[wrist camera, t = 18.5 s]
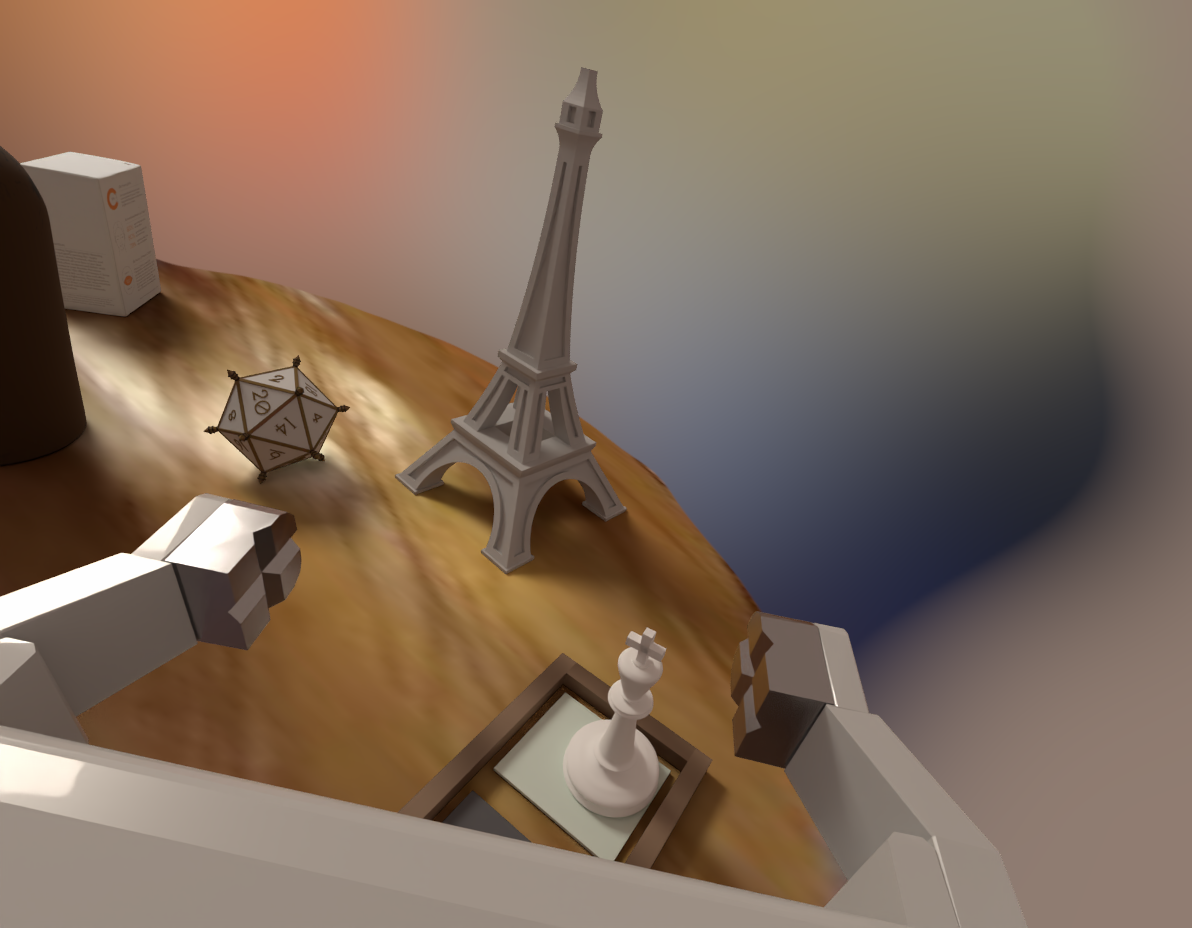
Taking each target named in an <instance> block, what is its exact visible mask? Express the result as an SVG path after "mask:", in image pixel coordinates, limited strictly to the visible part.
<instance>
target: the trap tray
mask: <svg viewBox="0 0 1192 928" xmlns="http://www.w3.org/2000/svg"><path fill="white" fill-rule="evenodd" d="M563 684H564V685H565V686H566V687H568V688H569V689H570V690H572V691H573V692H574V693H576V694H577V695H578V696H580V697H581V698H582V699H584V700H585V701H587V702H588V703H589V704H591V705H592V706H593V707H595V708H596V709H597V710H599V711H600V712H601V713H603V714H604V715H605V716H607V717H608V718H610V719H611V720H612V718H613V715H614V713H615V712H614V711H613V709H612V708H611V706H610V704H609V702H608V692H609V690H610V688H611V687H610V686H608V685H607V684H606V683H604V682H603V681H601V680H600V679H599V678H597V677H596V676H594V675H593V674H592V673H590V672H589V671H587V670H586V669H585V668H583V667H582V666H580V665H579V664H578V663H576V662H575V661H573V660H572V659H571V658H569V657H568V656H566V655H565V654H564V653H562V654H561V655H560V656H559V657H558V658H557V659H556V660H555V661H554V662H553V663H552V664H551V665H550V666H549V667H548V668H547V669H546V670H545V671H544V672H543V673H542V674H540V675H539V676H538V677H537V678H536V679H535V680H534V681H533V682H532V683H531V684H530V685H529V686H528V687H527V688H526V689H525V690H524V691H523V692H522V693H521V694H520V695H519V696H518V697H517V698H516V699H515V700H514V701H513V702H512V703H510V704H509V705H508V706H507V707H506V708H505V709H504V710H503V711H502V712H501V713H500V714H499V715H498V716H497V717H496V718H495V719H494V720H493V721H492V722H491V723H490V724H489V725H488V726H487V727H486V728H485V729H484V730H483V731H482V732H480V733H479V734H478V735H477V736H476V737H475V738H474V739H473V740H472V741H471V742H470V743H469V744H468V745H467V746H466V747H465V748H464V749H463V750H462V751H461V752H460V753H459V754H458V755H457V756H456V757H455V758H454V759H453V760H452V761H450V762H449V763H448V764H447V765H446V766H445V767H444V768H443V769H442V770H441V771H440V772H439V773H438V774H437V775H436V776H435V777H434V778H433V779H432V780H431V781H430V782H429V783H428V784H427V785H426V786H425V787H424V788H423V789H421V790H420V791H419V792H418V793H417V794H416V795H415V796H414V797H413V798H412V799H411V800H410V801H409V802H408V803H407V804H406V805H405V806H404V807H403V808H402V809H401V810H400V811H399V812H398V813H400V814H405V815H409V816H413V817H418V818H422V819H427V820H432V819H433V818H434V817H435V816H436V815H437V814H438V813H439V812H440V811H441V810H442V809H443V808H444V807H445V806H446V804H447V803H448V802H449V801H450V800H451V799H452V798H453V797H454V796H455V795H456V794H457V793H458V792H459V791H460V790H461V789H462V788H463V787H464V786H465V785H466V784H467V783H468V782H469V781H470V780H471V779H472V778H473V777H474V776H475V775H476V774H477V772H478V771H479V770H480V769H481V768H482V767H483V766H484V765H485V764H486V763H487V762H488V761H489V760H490V759H491V758H492V757H493V756H494V755H495V754H496V753H497V752H498V751H499V750H500V749H501V748H502V747H503V746H504V745H505V744H506V743H507V742H508V740H509V739H510V738H511V737H512V736H513V735H514V734H515V733H516V732H517V731H518V730H519V729H520V728H521V727H522V726H523V725H524V724H525V723H526V722H527V721H528V720H529V719H530V718H531V717H532V716H533V715H534V714H535V713H536V712H537V711H538V709H539V708H540V707H541V706H542V705H543V704H544V703H545V702H546V701H547V700H548V699H549V698H550V697H551V696H552V695H553V694H554V693H555V692H556V691H557V690H558V689H559V688H560V687H561V686H562V685H563ZM636 729H637V730H639V731H640V732H641V733H642V734H643V735H644V736H645V737H646V738H647V739H648V740H649V741H650V743H651V744H652V746H653V748H654V750H655V752H656V753H657V754H658V755H660V756H661V757H662V758H664V759H665V760H666V761H668V762H669V763H670V764H672V765H673V766H674V767H676V768H677V769H679V770H680V771H681V773H680V775H679V776H678V778H677V780H676V781H675V783H674V784H673V786H672V788H671V789H670V791H669V793H668V794H667V796H666V797H665V799H664V801H663V802H662V804H661V805H660V807H659V809H658V810H657V812H656V814H655V815H654V817H653V818H652V820H651V822H650V823H649V825H648V827H647V828H646V830H645V831H644V833H643V835H642V836H641V838H640V839H639V841H638V843H637V844H636V846H635V848H634V849H633V851H632V852H631V854H630V856H629V857H628V859H627V861H626V862H625V864H630V865H634V866H639V867H643V868H648V869H651V867H652V865H653V863H654V862H655V860H656V858H657V856H658V855H659V853H660V851H661V849H662V848H663V846H664V844H665V843H666V841H667V839H668V837H669V836H670V834H671V832H672V830H673V829H674V827H675V825H676V823H677V822H678V820H679V818H680V816H681V815H682V813H683V811H684V809H685V808H686V806H687V804H688V803H689V801H690V799H691V797H692V796H693V794H694V792H695V790H696V789H697V787H698V785H699V783H700V782H701V780H702V778H703V776H704V775H705V773H706V771H707V769H708V767H709V766H710V764H711V762H712V759H711V758H709V757H708V756H706V755H705V754H704V753H702V752H701V751H699V750H698V749H697V748H695V747H694V746H692V745H691V744H690V743H688V742H687V741H685V740H684V739H683V738H681V737H680V736H678V735H677V734H676V733H674V732H673V731H671V730H670V729H669V728H667V727H666V726H664V725H663V724H662V723H660V722H659V721H657V720H656V719H655V718H653V717H652V716H650V715H648V716H646V717H645V718H643V719H639V720H637V722H636Z"/></svg>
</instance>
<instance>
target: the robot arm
mask: <svg viewBox="0 0 1192 928" xmlns="http://www.w3.org/2000/svg"><path fill="white" fill-rule="evenodd" d="M296 530H297V527H296V522H295V518H294V515H292V514H290V513H288V512H285V511H281V510H277V509H272V508H268V507H264V506H260V505H256V504H251V503H247V502H243V501H239V500H235V499H233V500H232V499H228V498H224V497H220V496H216V495H211V494H207V493H205V494H202V495H199V496H196V497H195V498H194V499H193V500H191V501H190V502H189V503H188V504H187V505H186V506H185V507H184V508H182V509H181V510H180V511H179V512H178V513H177V514H176V515H175V516H173V517H172V518H171V519H170V520H169V521H168V522H167V523H166V524H164V525H163V526H162V527H161V528H160V529H159V530H158V531H157V532H155V533H154V534H153V535H152V536H151V537H150V538H149V539H148V540H146V541H145V542H144V543H143V544H142V545H141V546H140V547H139V548H137V549H136V550H135V551H134V552H133V553H132V554H126V553H120V554H117V555H114V556H111V557H109V558H106V559H103V560H100V561H98V562H95V563H92V564H89V565H87V566H84V567H81V568H78V569H75V570H73V571H70V572H67V573H64V574H62V575H59V576H56V577H53V578H51V579H48V580H45V581H42V582H40V583H37V584H34V585H31V586H29V587H26V588H23V589H20V590H18V591H15V592H12V593H9V594H7V595H4V596H1V597H0V928H1028V927H1027V924H1026V921H1025V919H1024V916H1023V913H1022V911H1021V908H1020V905H1019V903H1018V900H1017V898H1016V895H1015V892H1014V889H1013V887H1012V884H1011V882H1010V879H1009V876H1008V874H1007V871H1006V868H1005V866H1004V863H1003V860H1002V858H1001V855H1000V853H999V851H998V850H997V849H996V848H995V847H994V846H993V845H992V843H991V842H990V841H989V840H988V839H987V838H986V837H985V835H984V834H983V833H982V832H981V831H980V830H979V829H978V828H977V827H976V825H975V824H974V823H973V822H972V821H971V820H970V818H968V816H967V815H966V814H965V813H964V812H963V811H962V809H961V808H960V807H959V806H958V805H957V804H956V803H955V802H954V800H953V799H952V798H951V797H950V796H949V795H948V794H947V793H946V791H945V790H944V789H943V788H942V787H941V786H940V785H939V784H938V782H937V781H936V780H935V779H934V778H933V777H932V776H931V774H930V773H929V772H928V771H927V770H926V769H925V768H924V766H923V765H922V764H921V763H920V762H919V761H918V760H917V759H916V758H915V756H914V755H913V754H912V753H911V752H910V751H909V749H907V747H906V746H905V745H904V744H903V743H902V742H901V740H900V739H899V738H898V737H897V736H896V735H895V734H894V733H893V731H892V730H891V729H890V728H889V727H888V726H887V725H886V724H885V722H884V721H883V720H882V719H881V718H880V717H879V716H878V715H875V714H870V713H869V710H868V706H867V703H866V699H865V695H864V692H863V688H862V684H861V680H860V677H859V673H858V669H857V666H856V662H855V658H854V655H853V651H852V647H851V643H850V640H849V636H848V634H847V632H846V631H845V630H844V629H841V628H836V627H831V626H826V625H821V624H817V623H814V624H813V623H811V622H807V621H802V620H796V619H792V618H786V617H782V616H777V615H771V614H766V613H762V612H757V611H756V612H755V613H754V614H753V615H752V617H751V619H750V621H749V623H748V625H747V629H748V639H746V640H744V641H742V642H740V643H739V645H738V648H737V650H736V653H735V655H734V660H733V664H732V669H731V683H730V684H731V697H732V698H733V700H734V701H735V703H736V704H737V705H738V709H737V711H736V713H735V715H734V717H733V719H732V723H733V738H734V754H735V756H736V757H740V758H744V759H748V760H753V761H757V762H761V763H765V764H769V765H773V766H777V767H781V768H785V770H784V772H785V773H786V775H787V777H788V778H789V780H790V782H791V784H792V785H793V787H794V789H795V790H796V792H797V794H798V796H799V797H800V799H801V801H802V802H803V804H804V806H805V808H806V809H807V811H808V813H809V814H810V816H811V818H812V820H813V821H814V823H815V825H816V826H817V828H818V830H819V832H820V833H821V835H822V837H823V838H824V840H825V842H826V844H827V845H828V847H829V849H830V850H831V852H832V854H833V856H834V857H835V859H836V861H837V863H838V864H839V866H840V868H841V869H842V871H843V873H844V875H845V876H846V878H847V880H848V882H847V883H846V884H845V885H844V886H843V887H842V888H841V889H840V890H839V892H838V893H837V894H836V895H835V896H834V897H833V898H832V899H831V900H830V901H829V902H828V903H827V905H826V906H825V907H819V906H815V905H810V904H806V903H801V902H797V901H792V900H788V899H783V898H778V897H774V896H769V895H765V894H760V893H756V892H751V891H747V890H742V889H738V888H733V887H729V886H724V885H720V884H715V883H711V882H706V881H702V880H697V879H693V878H688V877H684V876H679V875H675V874H670V873H666V872H661V871H657V870H652V869H648V868H643V867H639V866H634V865H630V864H625V863H621V862H616V861H612V860H607V859H603V858H598V857H594V856H589V855H585V854H580V853H576V852H571V851H567V850H562V849H557V848H553V847H548V846H544V845H539V844H535V843H530V842H526V841H521V840H517V839H512V838H508V837H503V836H499V835H494V834H490V833H485V832H481V831H476V830H472V829H467V828H463V827H458V826H454V825H449V824H445V823H440V822H436V821H431V820H427V819H422V818H418V817H413V816H409V815H405V814H400V813H396V812H391V811H387V810H382V809H377V808H373V807H368V806H364V805H359V804H355V803H350V802H346V801H341V800H337V799H332V798H328V797H323V796H319V795H314V794H310V793H305V792H300V791H296V790H291V789H287V788H282V787H278V786H273V785H269V784H264V783H260V782H255V781H251V780H246V779H242V778H237V777H233V776H228V775H223V774H219V773H214V772H210V771H205V770H201V769H196V768H192V767H187V766H183V765H178V764H174V763H169V762H165V761H160V760H156V759H151V758H147V757H142V756H138V755H133V754H129V753H124V752H120V751H115V750H111V749H106V748H102V747H97V746H93V745H89V743H88V737H87V736H86V734H85V732H84V730H83V729H82V727H81V725H80V723H79V722H78V720H77V718H76V716H78V715H80V714H81V713H83V712H85V711H86V710H88V709H89V708H91V707H93V706H94V705H96V704H98V703H99V702H101V701H103V700H104V699H106V698H108V697H109V696H111V695H113V694H114V693H116V692H118V691H119V690H121V689H123V688H124V687H126V686H128V685H129V684H131V683H133V682H134V681H136V680H138V679H139V678H141V677H143V676H144V675H146V674H148V673H149V672H151V671H153V670H154V669H156V668H158V667H159V666H161V665H163V664H164V663H166V662H168V661H169V660H171V659H173V658H174V657H176V656H178V655H179V654H181V653H183V652H184V651H186V650H188V649H189V648H191V647H193V646H194V645H196V644H197V643H198V642H197V641H201V642H207V643H212V644H217V645H223V646H228V647H233V648H239V649H244V650H248V649H249V648H250V646H251V645H252V644H253V642H254V641H255V640H256V638H257V637H258V636H259V634H260V633H261V632H262V630H263V629H264V628H265V626H266V625H267V624H268V622H269V621H270V613H269V608H270V607H272V606H274V605H276V604H278V603H280V602H282V601H284V600H285V599H286V598H287V596H288V595H289V594H290V592H291V591H292V589H293V588H294V586H295V583H296V581H297V578H298V576H299V573H300V569H301V552H300V548H299V547H298V546H297V545H296V544H295V542H294V541H293V540H292V539H291V537H292V535H293V534H294V533H295V532H296Z"/></svg>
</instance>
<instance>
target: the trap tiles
mask: <svg viewBox="0 0 1192 928" xmlns="http://www.w3.org/2000/svg"><path fill="white" fill-rule="evenodd" d="M442 823H445V824H449V825H454V826H458V827H463V828H467V829H472V830H476V831H481V832H485V833H490V834H494V835H499V836H503V837H508V838H512V839H517V840H521V841H526V842H530V841H529V840H528V839H527V838H526V837H525V836H524V835H523V834H521V833H520V832H519V831H518V830H517V829H516V828H515V827H514V826H512V825H511V824H510V823H509V822H508V821H507V820H506V819H505V818H503V817H502V816H501V815H500V814H499V813H498V812H497V811H496V810H494V809H493V808H492V807H491V806H490V805H489V804H488V803H486V802H485V801H484V800H483V799H482V798H481V797H480V796H479V795H477V794H476V793H475V792H474V791H473V790H472V791H471V793H470V794H469V795H468V796H467V797H466V798H465V799H464V800H463V801H462V802H461V803H460V804H459V805H458V806H457V807H456V808H455V809H454V810H453V812H452V813H451V814H450V815H449V816H448V817H447V818H446V819H445V820H444V821H443V822H442ZM530 843H532V842H530Z"/></svg>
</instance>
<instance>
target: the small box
mask: <svg viewBox="0 0 1192 928" xmlns="http://www.w3.org/2000/svg"><path fill="white" fill-rule="evenodd" d="M20 164H21V165H22V167H23V168H24V169H25V170H26V172H27V173H28V174H29V176H30V177H31V179H32V181H33V182H34V184H35V186H36V187H37V189H38V191H39V192H40V194H41V196H42V198H43V200H44V203H45V205H46V208H47V211H48V215H49V219H50V225H51V231H52V237H53V243H54V249H55V255H56V261H57V267H58V273H59V279H60V285H61V291H62V296H63V302H64V307H65V309H72V310H80V311H87V312H94V313H101V314H107V315H116V316H124V317H125V316H127V315H129V314H130V313H131V312H133V311H134V310H136V309H137V308H138V307H140V306H141V305H142V304H144V303H145V302H147V301H148V300H150V299H151V298H152V297H154V296H155V295H157V294H158V293H159V292H161V287H160V281H159V275H158V268H157V263H156V257H155V251H154V245H153V239H152V232H151V226H150V219H149V213H148V207H147V201H146V194H145V188H144V182H143V176H142V170H141V166H140V165H137V164H133V163H128V162H124V161H119V160H114V159H108V158H103V157H97V156H92V155H86V154H80V153H74V152H67V153H63V154H58V155H55V156H50V157H46V158H42V159H38V160H33V161H29V162H25V163H20Z"/></svg>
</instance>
